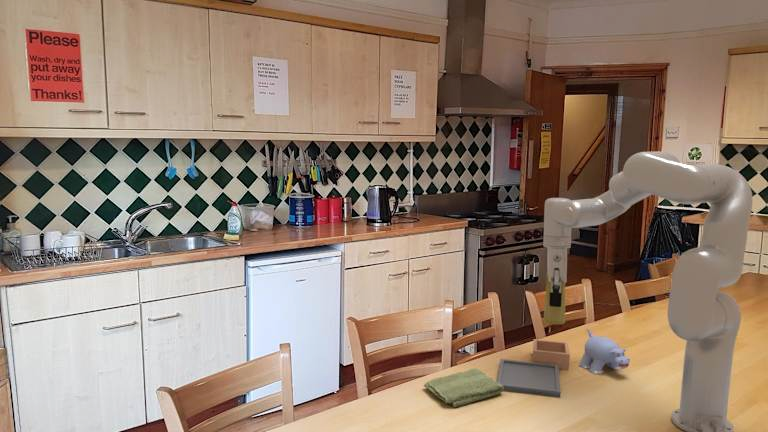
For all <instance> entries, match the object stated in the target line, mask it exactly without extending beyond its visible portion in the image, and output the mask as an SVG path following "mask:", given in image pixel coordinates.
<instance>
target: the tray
mask: <svg viewBox="0 0 768 432" xmlns="http://www.w3.org/2000/svg"><path fill="white" fill-rule="evenodd" d="M496 379H497V380H496V381H497V382H498V383H500V384H502V385H503V386H504V390H503V391H502V392H513V393H519V394H520V393H521V394H529V395H537V396H544V397H546V396H547V397H554V398H561V396H562V395H561V393H562V390H561V379H560V369H559V368H558V365H555V364H545V363H536V362H533V361H527V360H516V359H506V358H500V360H499V366H498V373H497V378H496Z"/></svg>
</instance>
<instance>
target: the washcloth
mask: <svg viewBox="0 0 768 432" xmlns="http://www.w3.org/2000/svg"><path fill="white" fill-rule="evenodd" d="M423 386H424V387H425V388H426V390H427V391H430V392H431V393H432V394H433V395H434V396H435V397H437V398H439V399H440V400H442V401H443V402H444V403H445V404H449V405H450V406H451V407H453V408H458V407H460V406H461V407H462V406H463V405H469V404H470V403H473V402H477V401H480V400H485V399H488V398H491V397H494V396H498V395H500V394H502V393H503V392H504V391H503V390H504V386H503V385H502V384H500V383H498V382H497V380H495V379H493V378H492V377H491V378H490V377H489V376H487V375H486V373H484V372H483V371H482V370H481V369H479V368H477V367H476V368H475V367H473V368H470V369H468V370H465V371H459V372H456V373H452V374H449V375H445V376H441V377H436V378H432V379H430V380H428V381H427V382H425V383H424V385H423Z"/></svg>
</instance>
